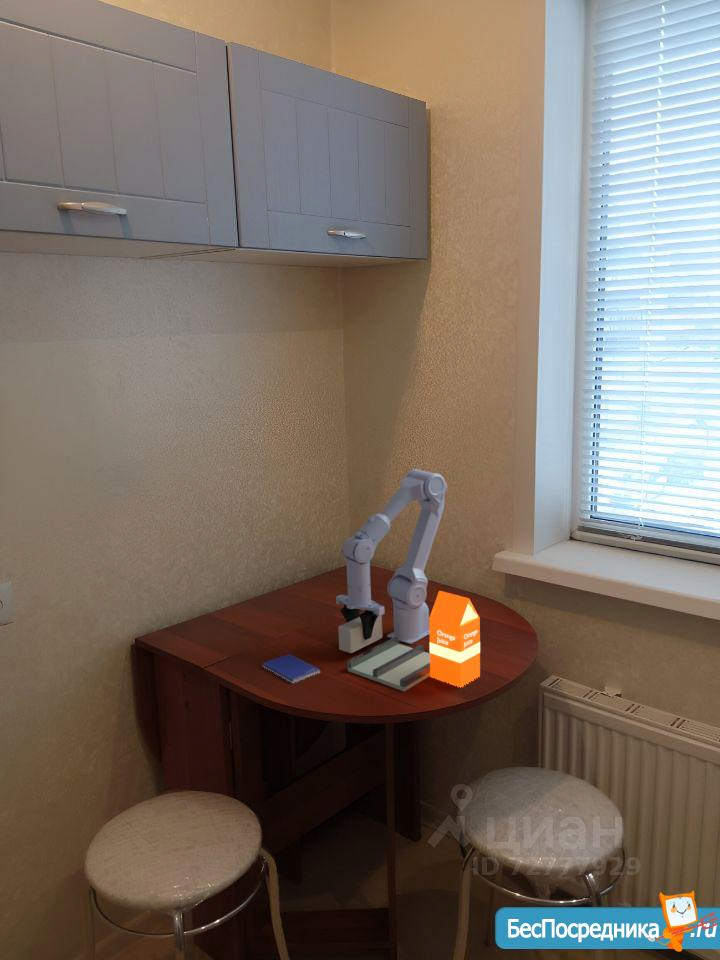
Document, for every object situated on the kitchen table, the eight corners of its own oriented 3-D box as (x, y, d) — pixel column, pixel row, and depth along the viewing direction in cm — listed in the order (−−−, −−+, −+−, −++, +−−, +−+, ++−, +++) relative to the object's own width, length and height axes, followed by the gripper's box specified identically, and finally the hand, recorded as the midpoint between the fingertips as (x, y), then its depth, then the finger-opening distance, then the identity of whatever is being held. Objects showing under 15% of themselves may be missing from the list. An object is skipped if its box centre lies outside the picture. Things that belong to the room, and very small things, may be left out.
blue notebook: (320, 668, 179) (289, 653, 189) (292, 679, 174) (262, 663, 183) (320, 674, 180) (290, 659, 189) (292, 685, 174) (262, 669, 184)
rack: (395, 646, 193) (395, 637, 192) (450, 664, 182) (450, 654, 181) (347, 670, 180) (347, 661, 179) (404, 691, 169) (404, 681, 168)
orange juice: (450, 665, 181) (449, 586, 177) (480, 676, 175) (480, 594, 171) (429, 677, 175) (428, 595, 171) (460, 688, 169) (459, 603, 165)
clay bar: (370, 634, 197) (369, 612, 196) (382, 637, 194) (381, 615, 193) (339, 649, 188) (338, 626, 187) (351, 653, 185) (350, 630, 184)
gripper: (326, 583, 190) (329, 634, 193) (370, 595, 180) (372, 648, 183) (345, 576, 195) (347, 625, 198) (389, 587, 186) (390, 639, 188)
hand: (360, 636), depth 191 cm, fingers closed on clay bar, 4 cm apart
